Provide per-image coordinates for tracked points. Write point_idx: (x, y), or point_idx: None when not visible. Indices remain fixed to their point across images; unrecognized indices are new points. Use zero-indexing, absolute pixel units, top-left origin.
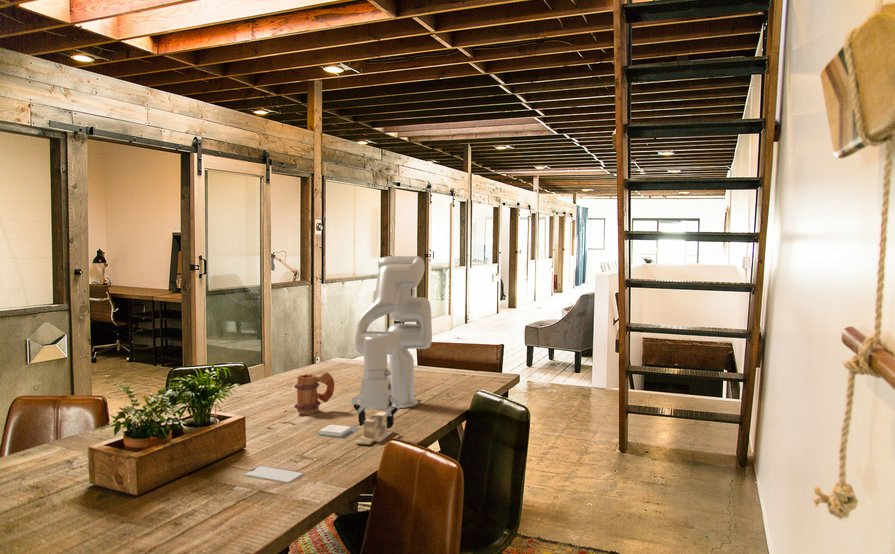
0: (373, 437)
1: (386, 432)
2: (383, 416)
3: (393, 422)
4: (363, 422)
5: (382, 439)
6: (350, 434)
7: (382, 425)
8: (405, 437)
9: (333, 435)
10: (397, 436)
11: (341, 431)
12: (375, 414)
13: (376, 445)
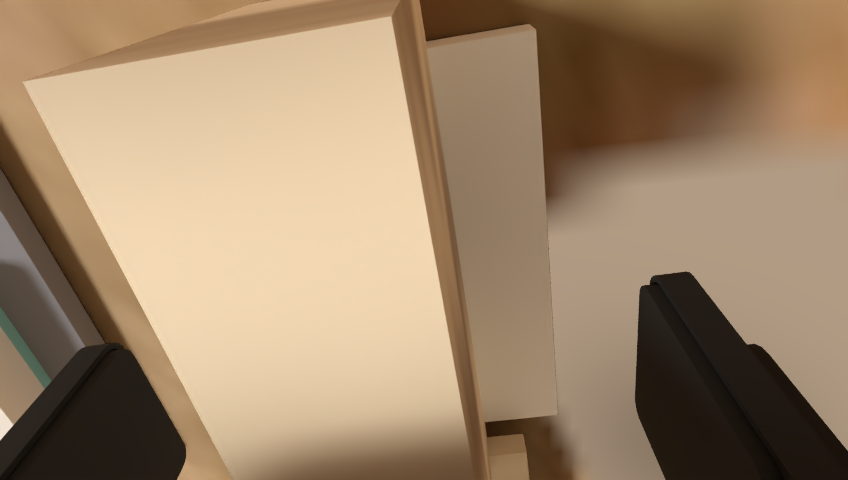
0: (488, 456)
1: (464, 110)
2: (456, 351)
3: (773, 367)
4: (143, 432)
5: (553, 349)
6: None
7: (454, 274)
8: (806, 70)
9: None
10: (660, 84)
11: None
12: (204, 401)
13: (549, 440)
